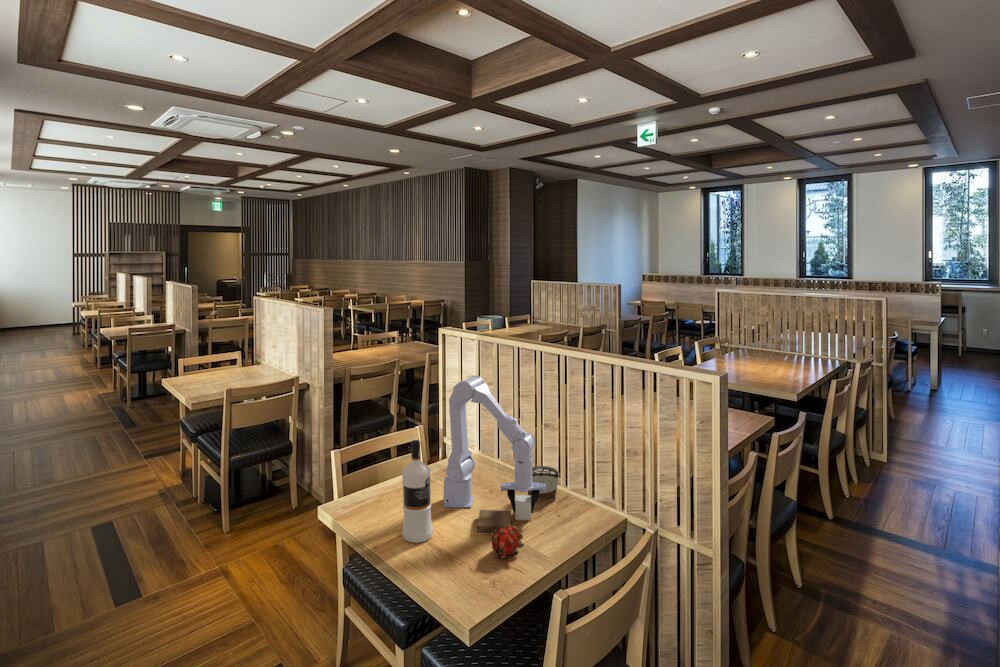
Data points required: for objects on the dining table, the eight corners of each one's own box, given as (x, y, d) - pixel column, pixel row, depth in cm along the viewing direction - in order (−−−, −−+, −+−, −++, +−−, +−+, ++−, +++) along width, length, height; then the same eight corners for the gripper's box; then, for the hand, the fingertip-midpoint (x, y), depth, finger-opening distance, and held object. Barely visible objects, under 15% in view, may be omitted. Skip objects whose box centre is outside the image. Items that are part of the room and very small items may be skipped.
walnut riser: (477, 534, 164) (477, 525, 163) (480, 518, 174) (480, 509, 173) (510, 535, 163) (510, 526, 163) (510, 519, 173) (511, 510, 173)
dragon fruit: (518, 547, 159) (501, 575, 148) (496, 528, 160) (478, 553, 150) (533, 532, 155) (516, 558, 144) (510, 511, 156) (492, 537, 146)
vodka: (414, 525, 168) (412, 433, 164) (439, 532, 164) (437, 438, 159) (395, 539, 160) (392, 443, 155) (420, 547, 156) (418, 448, 151)
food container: (559, 492, 191) (560, 465, 190) (559, 500, 185) (560, 473, 184) (524, 490, 192) (525, 464, 191) (524, 498, 186) (524, 471, 185)
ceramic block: (515, 520, 172) (515, 502, 171) (515, 512, 177) (515, 495, 176) (530, 520, 172) (531, 502, 171) (530, 512, 177) (530, 495, 176)
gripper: (500, 476, 168) (500, 517, 170) (546, 477, 168) (546, 518, 170) (501, 467, 175) (500, 506, 177) (545, 468, 175) (544, 507, 177)
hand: (523, 511), depth 174 cm, fingers closed on ceramic block, 5 cm apart
